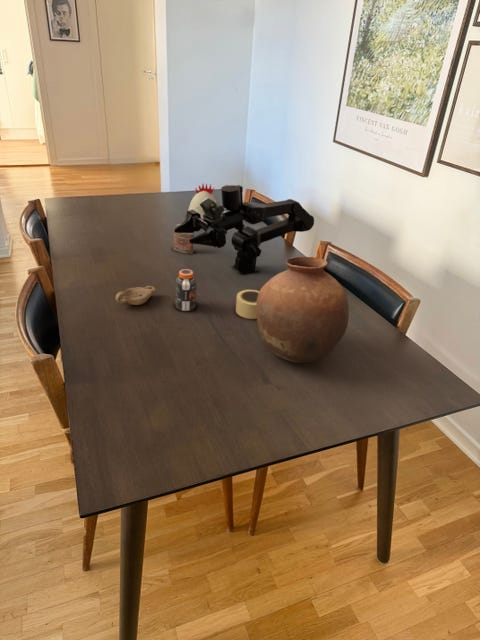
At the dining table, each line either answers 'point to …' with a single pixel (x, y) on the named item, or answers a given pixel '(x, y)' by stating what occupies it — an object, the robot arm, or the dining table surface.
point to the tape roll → (247, 304)
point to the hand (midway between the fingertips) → (181, 236)
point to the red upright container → (183, 242)
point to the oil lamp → (135, 295)
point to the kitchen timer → (201, 199)
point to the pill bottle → (185, 290)
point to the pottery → (302, 311)
